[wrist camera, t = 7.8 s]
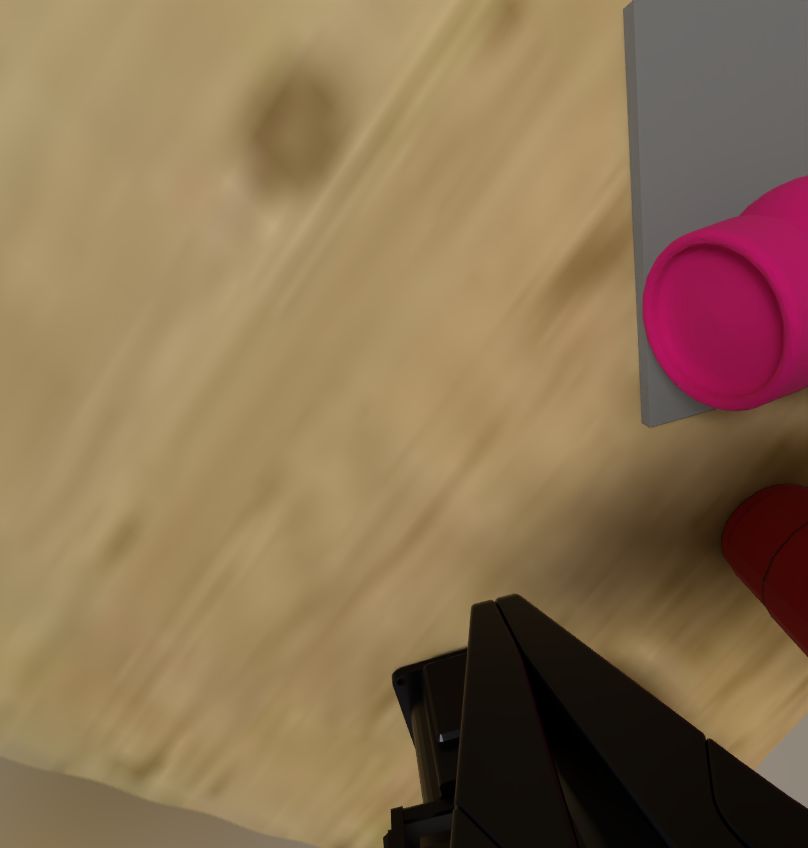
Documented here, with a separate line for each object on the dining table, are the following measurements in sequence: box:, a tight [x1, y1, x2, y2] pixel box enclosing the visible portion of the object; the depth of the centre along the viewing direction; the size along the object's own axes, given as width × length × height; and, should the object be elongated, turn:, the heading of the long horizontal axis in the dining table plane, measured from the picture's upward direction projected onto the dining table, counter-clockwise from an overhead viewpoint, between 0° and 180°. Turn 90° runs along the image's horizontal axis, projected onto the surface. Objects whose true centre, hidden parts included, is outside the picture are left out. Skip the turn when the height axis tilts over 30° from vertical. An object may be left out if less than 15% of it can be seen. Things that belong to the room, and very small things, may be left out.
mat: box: [623, 0, 808, 427], centre depth 19 cm, size 16×14×1 cm
